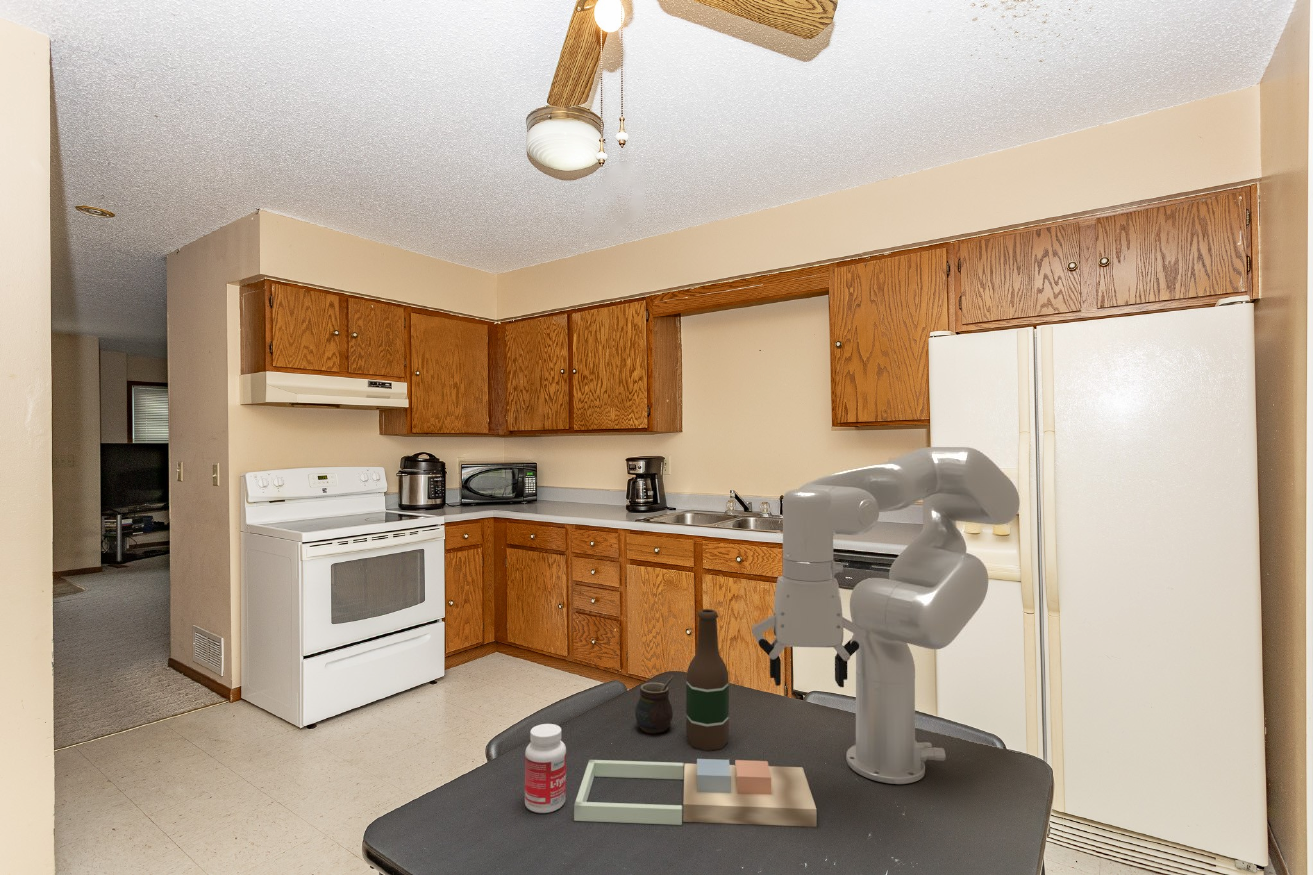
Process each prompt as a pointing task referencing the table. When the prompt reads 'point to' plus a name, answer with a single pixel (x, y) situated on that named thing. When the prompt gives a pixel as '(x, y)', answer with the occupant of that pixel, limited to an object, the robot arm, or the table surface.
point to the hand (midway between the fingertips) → (808, 683)
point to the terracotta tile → (752, 777)
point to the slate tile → (713, 776)
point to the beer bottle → (707, 689)
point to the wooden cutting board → (752, 801)
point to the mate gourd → (654, 707)
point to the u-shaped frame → (625, 810)
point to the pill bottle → (545, 769)
